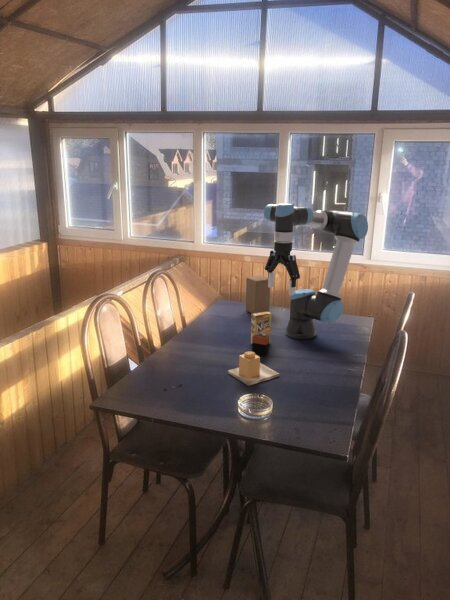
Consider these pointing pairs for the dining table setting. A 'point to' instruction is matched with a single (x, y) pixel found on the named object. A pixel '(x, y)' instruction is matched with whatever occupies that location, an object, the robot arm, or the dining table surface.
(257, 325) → the candy box
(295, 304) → the robot arm
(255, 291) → the wooden block
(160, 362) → the dining table surface
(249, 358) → the tan toy brick
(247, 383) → the birch board
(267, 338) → the battery
